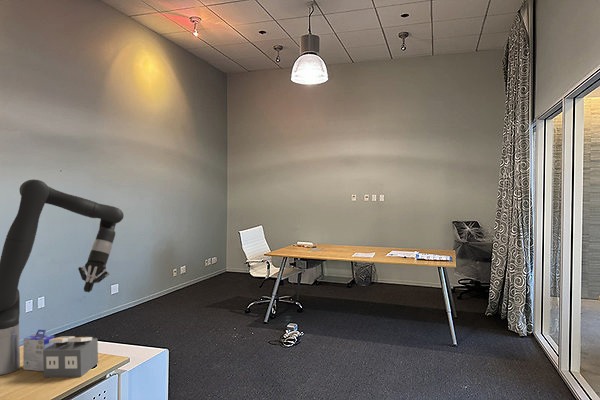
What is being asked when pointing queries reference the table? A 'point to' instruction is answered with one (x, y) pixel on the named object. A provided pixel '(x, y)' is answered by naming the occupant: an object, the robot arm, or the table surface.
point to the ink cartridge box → (35, 350)
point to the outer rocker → (79, 339)
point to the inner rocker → (60, 339)
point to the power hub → (70, 358)
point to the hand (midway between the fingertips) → (86, 291)
